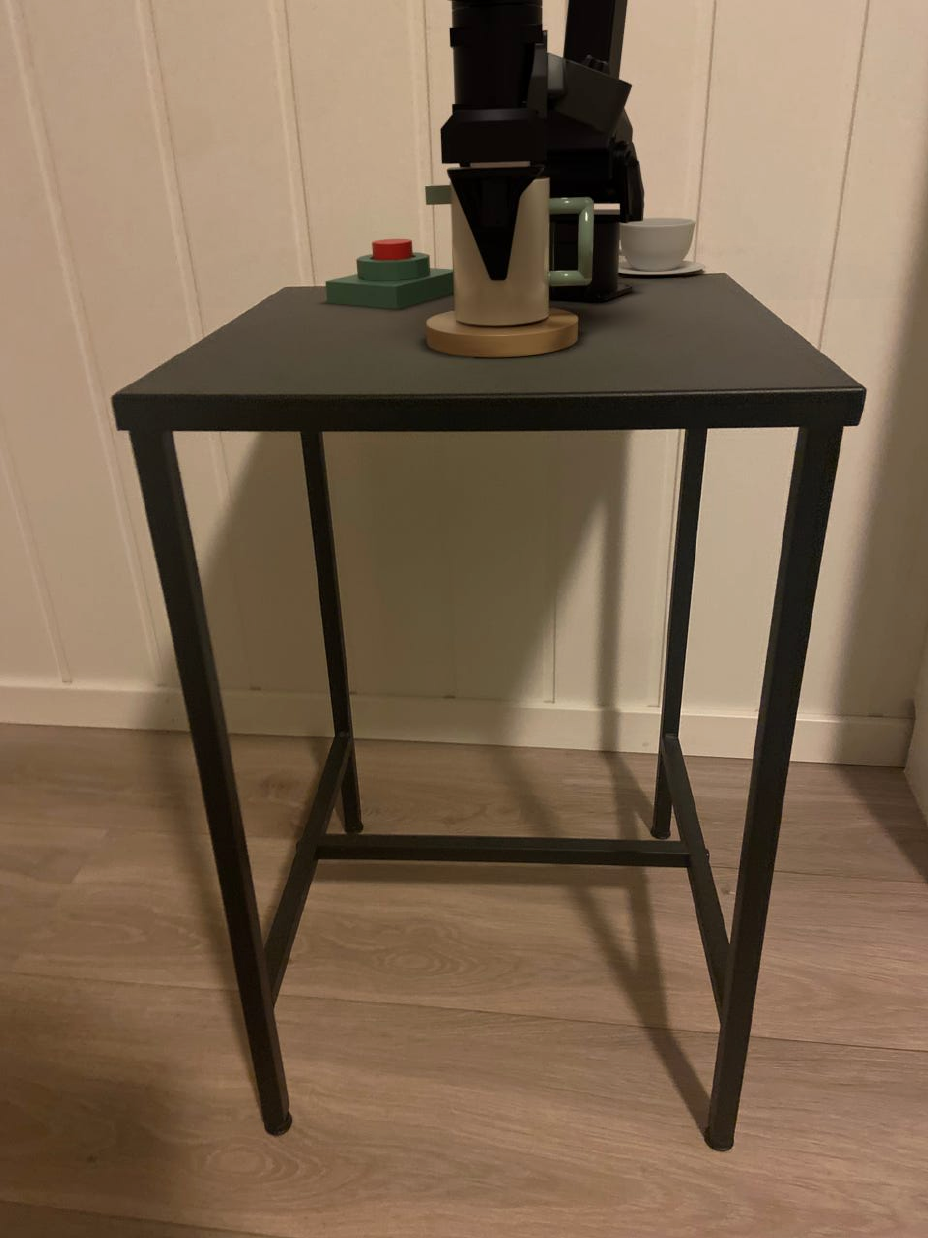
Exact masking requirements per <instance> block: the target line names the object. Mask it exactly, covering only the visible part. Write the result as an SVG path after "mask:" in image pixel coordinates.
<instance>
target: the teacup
mask: <svg viewBox="0 0 928 1238" xmlns="http://www.w3.org/2000/svg"><path fill="white" fill-rule="evenodd" d="M695 229H696V220H694V219H691V218H684V217H683V218H682V217H643V221H639V222H630V223H627V224H625V223H621V222H620V248H621V249H620V248H619V257H620V256H621V257H624V258H625V261H619V270H618V274H619V273H620V274H625V275H640V276H641V275H642V276H656V275H657V276H661V275H676V274H677V275H678V274H686V273H691V272H692V273H693V272H698V271H700V270H702V269H705V268H706V265H705V264H703V263H701V262H697V261H691V260H685V259H686V257H687V255H688V253H689V252H690V250H691V247H692V243H693V238H694V232H695Z"/></svg>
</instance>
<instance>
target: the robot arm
mask: <svg viewBox="0 0 928 1238" xmlns="http://www.w3.org/2000/svg"><path fill="white" fill-rule="evenodd" d="M448 1H449V2H451V27H449V28H448V29H449V48H451V49H452V63H453V97H454V98H453V99H454V103H452V104H451V115H450V116H449V118H447V120H446V121H445V122H444V124H442V126H441V127H440V128H439V129H440V130H439V131H440V159H441V164H442V165H454V164H455V165H459V166H457V167H456V166H453V167H448V168H447V169H446V174H447V177H448V179H449V181H451V183H452V185H453V188H454V190H455V192H456V195H457V197H458V200H459V202H460V205H461V207H462V210H463V212H464V214H465V217H466V219H467V222H468V224H469V227H470V229H471V232H472V234H473V237H474V239H475V242H476V244H477V247H478V249H479V252H480V255H481V257H482V260H483V262H484V265H485V267H486V270H487V272H488V275H489V277H490V279H491V280H493V281H502V280H505V279H506V278H507V274H508V268H509V262H510V256H511V250H512V244H513V238H514V232H515V226H516V220H517V214H518V208H519V202H520V197H521V195H522V193H523V192H524V191H525V190H526V189H527V187H528V186H529V185H530V184H531V183H532V182H533V181H534V180H535V179H536V178H537V177H538V176H546V177H549V178H550V198H575V197H589V198H591V199H592V200H593V202H594V205H619V209H618V208H616V209H615V208H614V209H613V208H610V209H608V208H606V209H605V208H603V209H601V208H600V209H599V208H594V225H593V261H592V280H591V282H590V283H589V284H588V285H578V286H550V287H549V299H557V300H569V301H581V302H582V301H583V302H598V303H599V302H600V303H601V302H602V303H603V302H606V301H609V300H611V299H614V298H617V297H620V296H622V295H625V294H628V293H630V292H633V290H634V289H633V286H634V285H632V284H622V283H621V284H619V273H618V270H619V262H620V255H619V249H620V247H621V243H620V222H621V223H625V224H627V223H630V222H639V221H643V218H644V211H645V210H644V209H645V188H644V183H643V179H642V172H641V164H640V161H639V159H638V155H637V151H636V146H635V143H634V142H633V138H634V137H633V136H634V135H633V134H634V128H633V124H632V122H631V120H630V118H629V115H628V113H627V110H626V109H625V107H626V105H627V102H628V99H629V97H630V93H631V91H632V88H633V84H631V83H629V82H627V81H626V80H623V79H620V75H621V74H620V73H621V65H622V54H623V46H624V38H625V37H624V36H625V28H626V21H627V11H628V2H629V1H628V0H567V10H566V11H567V12H566V19H565V20H566V21H565V31H564V32H565V33H564V42H563V53H562V56H560V55H557V54H554V53H552V52H549V51H548V41H549V40H548V37H549V36H548V35H549V33H548V31H549V30H548V29H544V28H543V27H544V23H543V12H544V11H543V4H544V2H543V0H448ZM550 222H554V230H553V271H575V270H578V242H579V213H575V214H550Z"/></svg>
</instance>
